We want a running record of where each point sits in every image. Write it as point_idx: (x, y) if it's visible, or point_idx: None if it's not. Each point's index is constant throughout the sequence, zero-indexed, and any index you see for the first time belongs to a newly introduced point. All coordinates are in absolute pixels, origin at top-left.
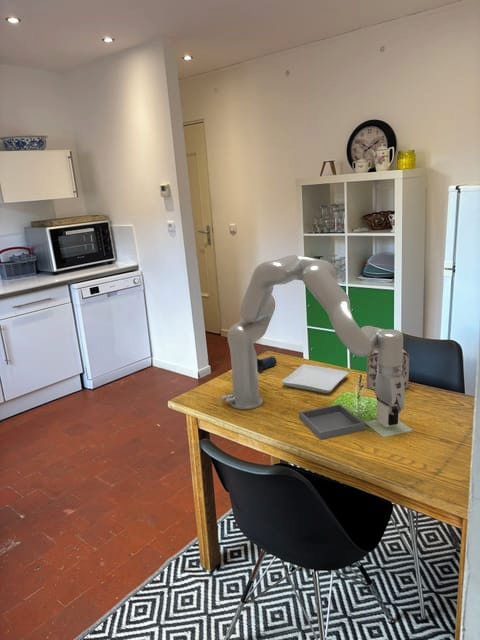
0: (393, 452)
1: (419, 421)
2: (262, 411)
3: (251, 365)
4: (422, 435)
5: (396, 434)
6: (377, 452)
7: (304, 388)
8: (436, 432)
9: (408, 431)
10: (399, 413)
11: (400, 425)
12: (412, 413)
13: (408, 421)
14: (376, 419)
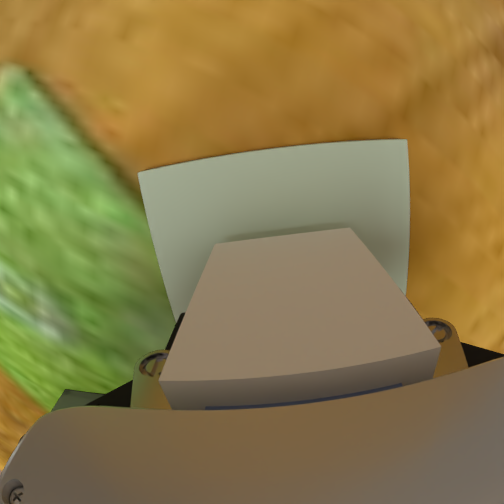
0: (488, 341)
1: (254, 3)
2: None
3: None
4: (447, 108)
5: (405, 275)
6: None
7: None
8: (430, 9)
9: (407, 179)
10: (387, 273)
11: (314, 189)
12: (122, 7)
13: (230, 75)
14: (174, 308)
